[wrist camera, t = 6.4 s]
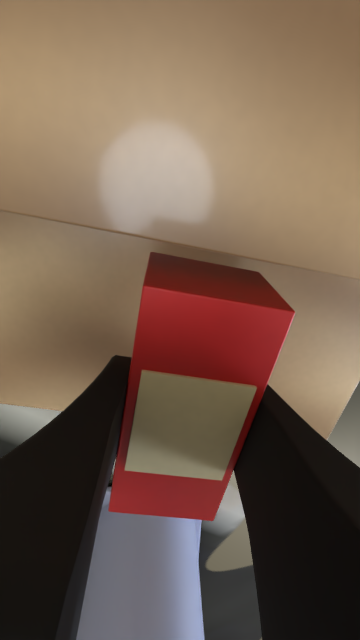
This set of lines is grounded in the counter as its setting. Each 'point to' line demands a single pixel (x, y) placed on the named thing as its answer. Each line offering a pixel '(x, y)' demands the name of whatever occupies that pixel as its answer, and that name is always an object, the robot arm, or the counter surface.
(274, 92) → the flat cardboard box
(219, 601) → the counter surface
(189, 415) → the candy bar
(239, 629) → the counter surface
